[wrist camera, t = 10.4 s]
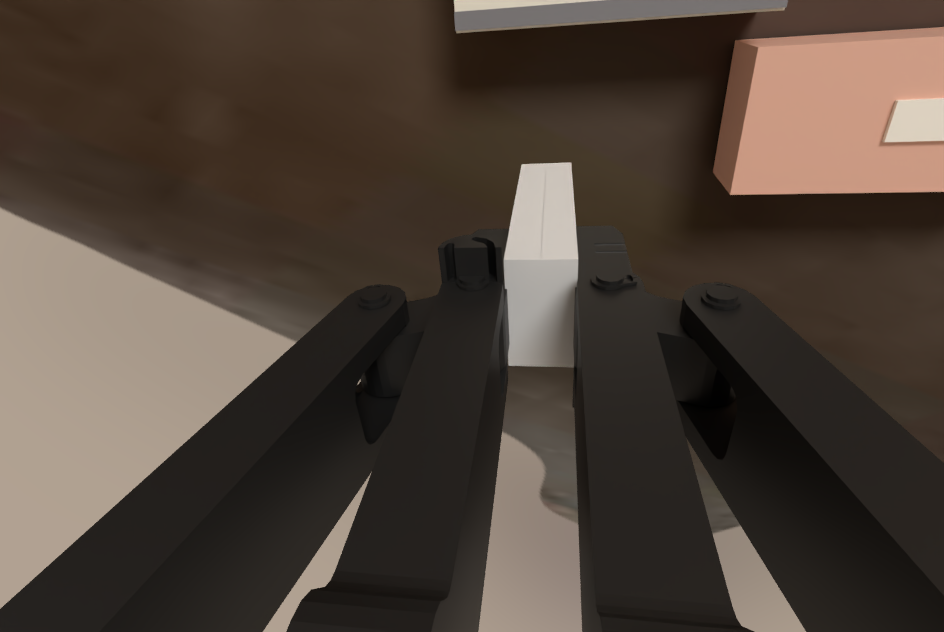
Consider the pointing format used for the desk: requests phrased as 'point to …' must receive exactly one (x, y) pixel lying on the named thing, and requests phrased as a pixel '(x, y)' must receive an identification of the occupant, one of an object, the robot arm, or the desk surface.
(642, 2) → the cream block with stripe
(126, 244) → the desk surface
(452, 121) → the desk surface
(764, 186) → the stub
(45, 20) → the desk surface
